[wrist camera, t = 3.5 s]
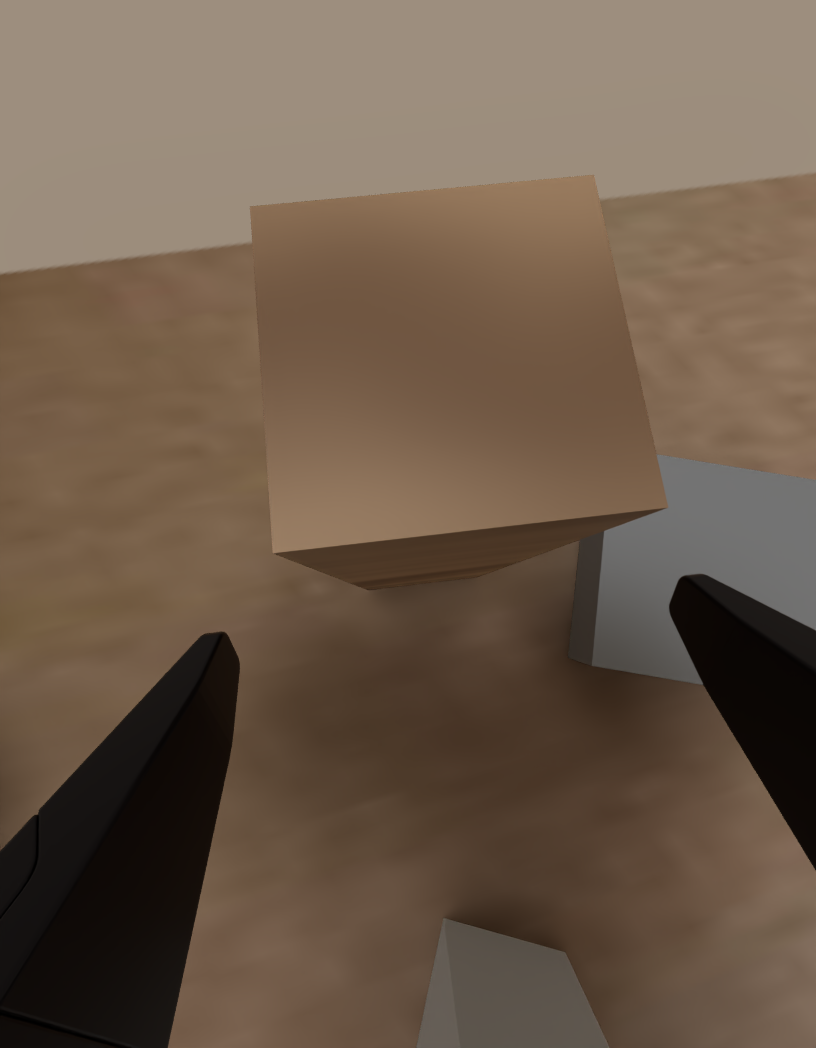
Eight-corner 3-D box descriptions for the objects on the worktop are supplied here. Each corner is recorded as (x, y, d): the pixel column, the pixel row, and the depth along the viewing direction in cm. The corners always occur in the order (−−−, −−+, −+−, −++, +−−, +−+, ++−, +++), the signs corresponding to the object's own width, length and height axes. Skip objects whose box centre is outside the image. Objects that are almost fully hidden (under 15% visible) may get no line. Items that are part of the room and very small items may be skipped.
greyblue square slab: (763, 690, 20) (825, 705, 17) (564, 656, 20) (591, 665, 17) (768, 498, 22) (826, 481, 19) (583, 468, 22) (611, 447, 19)
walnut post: (477, 577, 20) (668, 508, 6) (368, 589, 20) (272, 553, 6) (461, 472, 21) (594, 174, 7) (357, 483, 21) (249, 206, 6)
